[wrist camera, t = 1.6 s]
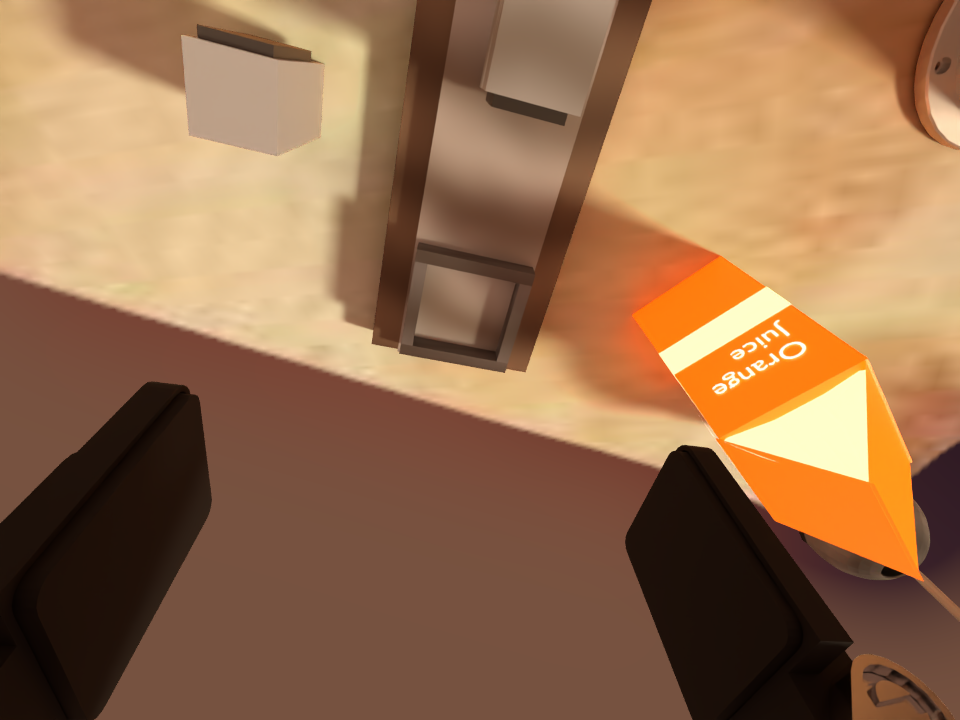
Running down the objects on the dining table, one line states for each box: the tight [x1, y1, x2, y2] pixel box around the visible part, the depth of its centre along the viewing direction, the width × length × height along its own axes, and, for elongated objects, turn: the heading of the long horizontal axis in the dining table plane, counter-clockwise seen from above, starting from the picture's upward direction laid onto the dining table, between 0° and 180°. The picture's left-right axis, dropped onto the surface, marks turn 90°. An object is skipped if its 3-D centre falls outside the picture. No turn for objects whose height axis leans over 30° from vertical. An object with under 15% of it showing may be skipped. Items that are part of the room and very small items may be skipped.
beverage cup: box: [799, 500, 960, 622], centre depth 34 cm, size 7×7×20 cm
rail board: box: [372, 0, 652, 373], centre depth 26 cm, size 24×12×11 cm, turn 167°
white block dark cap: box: [181, 24, 324, 156], centre depth 24 cm, size 4×4×8 cm
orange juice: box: [632, 256, 923, 581], centre depth 29 cm, size 8×9×20 cm
